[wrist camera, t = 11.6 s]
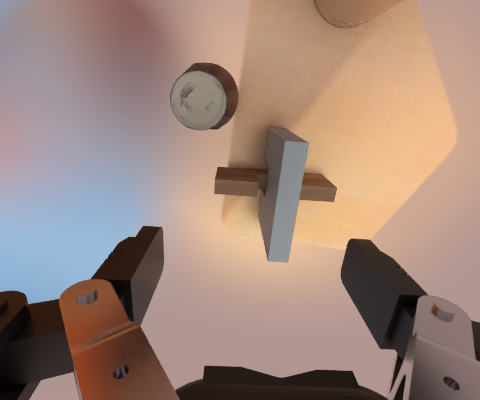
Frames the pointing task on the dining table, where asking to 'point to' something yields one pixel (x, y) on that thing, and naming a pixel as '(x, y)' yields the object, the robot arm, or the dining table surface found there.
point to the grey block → (281, 191)
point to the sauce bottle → (204, 97)
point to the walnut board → (252, 180)
